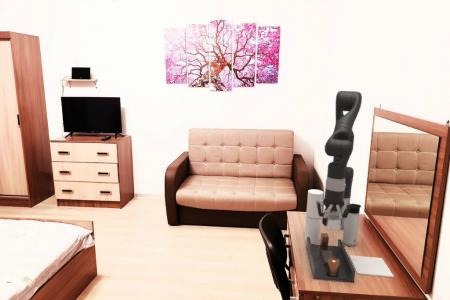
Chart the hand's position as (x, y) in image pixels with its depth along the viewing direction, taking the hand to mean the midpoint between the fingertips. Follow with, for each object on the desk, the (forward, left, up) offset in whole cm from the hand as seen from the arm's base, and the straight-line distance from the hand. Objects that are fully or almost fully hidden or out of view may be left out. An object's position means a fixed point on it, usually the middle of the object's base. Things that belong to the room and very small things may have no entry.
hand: (331, 225), depth 138 cm
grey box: (0, 0, +1) cm, 1 cm away
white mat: (+11, +13, -17) cm, 24 cm away
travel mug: (-6, +23, -17) cm, 29 cm away
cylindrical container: (-18, +10, -17) cm, 27 cm away
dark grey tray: (0, 0, -17) cm, 17 cm away
